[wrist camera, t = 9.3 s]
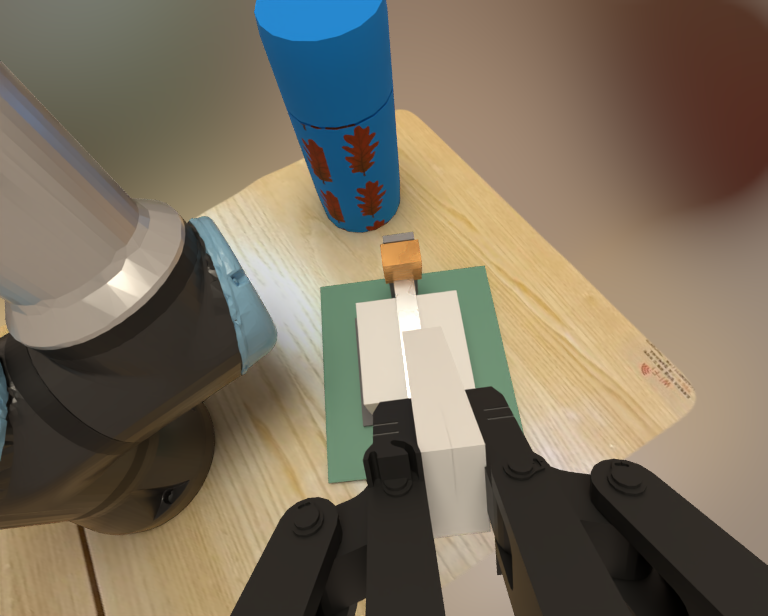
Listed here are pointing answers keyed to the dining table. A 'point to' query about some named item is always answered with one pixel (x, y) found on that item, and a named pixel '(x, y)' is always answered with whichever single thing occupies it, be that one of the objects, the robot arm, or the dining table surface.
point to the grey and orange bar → (404, 284)
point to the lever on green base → (400, 351)
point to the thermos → (339, 101)
